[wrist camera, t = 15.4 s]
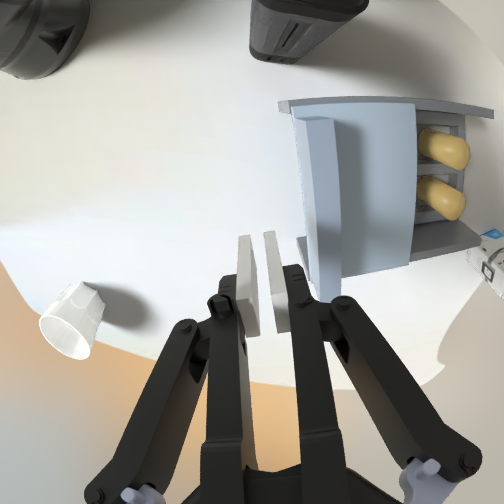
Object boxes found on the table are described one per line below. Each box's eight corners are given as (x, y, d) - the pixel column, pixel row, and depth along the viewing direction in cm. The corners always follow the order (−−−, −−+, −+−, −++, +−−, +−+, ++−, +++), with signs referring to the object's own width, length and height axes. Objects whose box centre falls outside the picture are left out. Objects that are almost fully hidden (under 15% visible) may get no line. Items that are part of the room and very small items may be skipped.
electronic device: (255, -5, 21) (265, -105, 3) (305, 2, 21) (368, -83, 4) (247, 60, 25) (249, -4, 8) (299, 66, 26) (372, 21, 9)
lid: (290, 106, 21) (303, 107, 16) (409, 103, 20) (442, 107, 15) (309, 278, 30) (320, 311, 25) (404, 260, 29) (426, 288, 24)
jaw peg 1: (417, 128, 29) (448, 137, 23) (438, 129, 29) (470, 138, 23) (418, 156, 31) (448, 170, 25) (438, 156, 31) (469, 169, 25)
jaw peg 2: (417, 175, 32) (445, 192, 26) (437, 174, 32) (466, 190, 26) (415, 201, 34) (442, 222, 28) (435, 199, 34) (462, 219, 28)
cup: (92, 273, 40) (65, 312, 31) (119, 317, 44) (101, 359, 36) (56, 282, 41) (29, 317, 32) (82, 322, 45) (62, 359, 37)
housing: (277, 101, 28) (287, 100, 21) (455, 103, 26) (493, 110, 19) (297, 245, 38) (308, 281, 31) (450, 221, 36) (480, 245, 29)
